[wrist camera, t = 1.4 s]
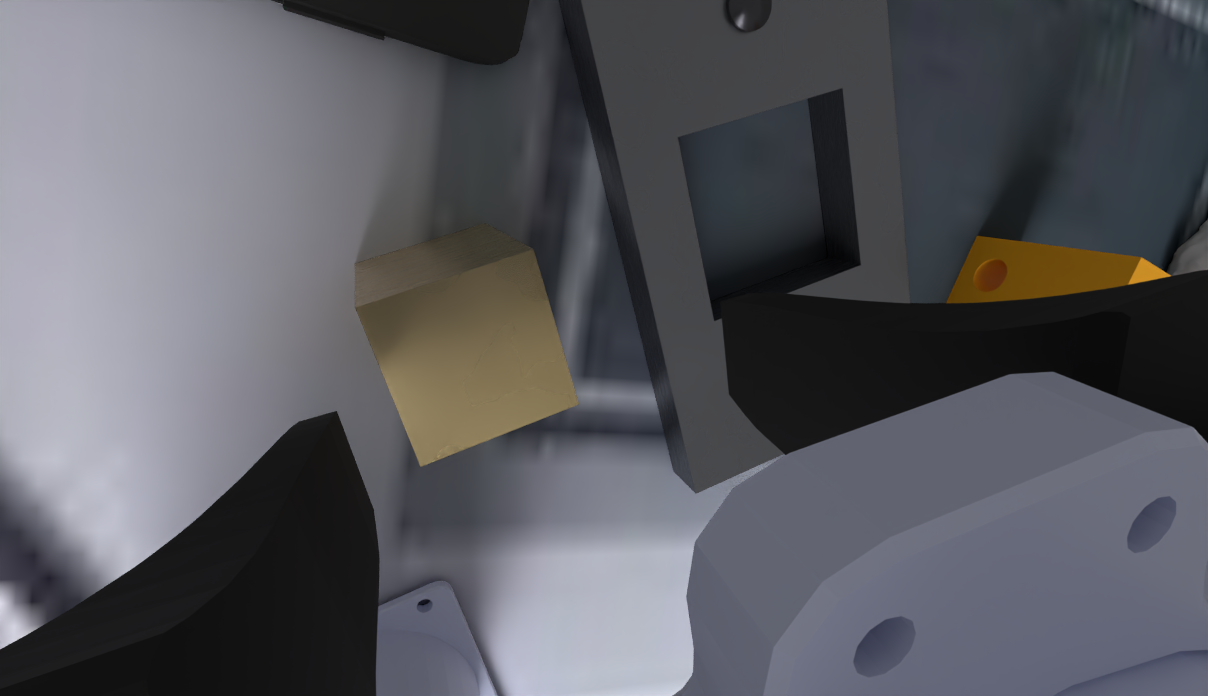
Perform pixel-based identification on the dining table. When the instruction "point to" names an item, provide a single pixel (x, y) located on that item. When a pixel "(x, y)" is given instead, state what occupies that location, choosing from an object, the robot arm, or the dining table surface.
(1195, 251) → the sitting furry creature
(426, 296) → the brass block
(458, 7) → the smart home device
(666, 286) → the metal plate with hole
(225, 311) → the dining table surface
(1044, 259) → the pipe clamp
